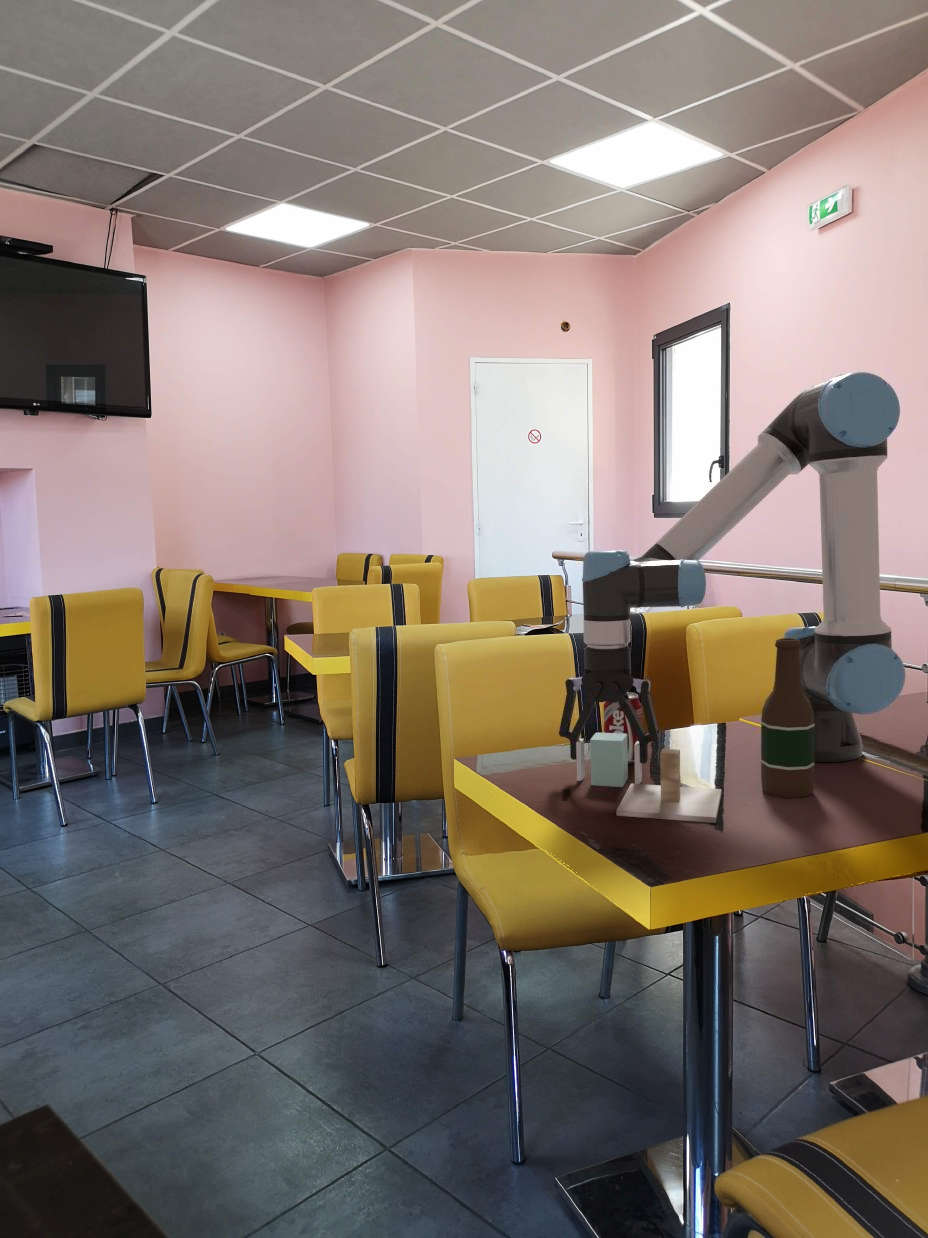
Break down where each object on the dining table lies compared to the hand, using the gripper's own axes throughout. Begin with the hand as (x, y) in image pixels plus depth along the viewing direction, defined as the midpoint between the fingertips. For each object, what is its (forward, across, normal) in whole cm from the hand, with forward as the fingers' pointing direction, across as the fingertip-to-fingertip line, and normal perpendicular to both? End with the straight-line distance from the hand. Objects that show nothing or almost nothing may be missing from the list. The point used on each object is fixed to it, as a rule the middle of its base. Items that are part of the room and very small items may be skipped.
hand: (609, 780), depth 148 cm
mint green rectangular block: (0, 0, 0) cm, 0 cm away
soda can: (0, 0, -14) cm, 14 cm away
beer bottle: (+1, -28, -1) cm, 28 cm away
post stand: (0, -11, +10) cm, 15 cm away
